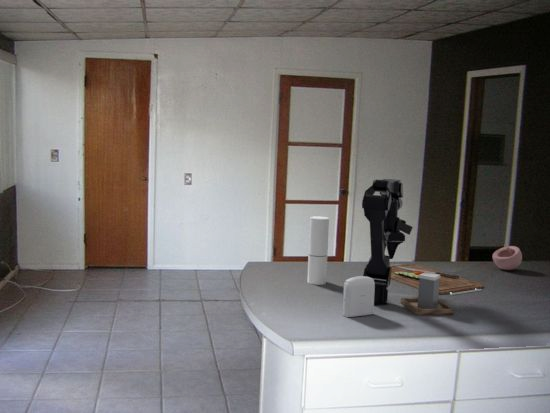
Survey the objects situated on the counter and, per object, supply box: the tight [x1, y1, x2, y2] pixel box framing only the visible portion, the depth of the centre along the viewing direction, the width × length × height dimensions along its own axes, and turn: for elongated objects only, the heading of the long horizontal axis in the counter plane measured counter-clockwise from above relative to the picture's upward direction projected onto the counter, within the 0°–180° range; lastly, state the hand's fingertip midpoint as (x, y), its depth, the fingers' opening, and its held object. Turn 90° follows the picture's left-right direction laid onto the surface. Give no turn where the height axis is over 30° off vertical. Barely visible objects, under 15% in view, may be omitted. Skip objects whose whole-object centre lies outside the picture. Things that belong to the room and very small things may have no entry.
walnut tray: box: [400, 297, 455, 316], centre depth 184 cm, size 13×13×2 cm
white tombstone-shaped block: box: [342, 275, 375, 318], centre depth 175 cm, size 10×4×12 cm, turn 114°
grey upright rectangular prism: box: [417, 272, 440, 309], centre depth 183 cm, size 5×5×11 cm
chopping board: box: [390, 263, 483, 296], centre depth 225 cm, size 45×27×3 cm, turn 30°
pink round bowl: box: [492, 244, 523, 271], centre depth 245 cm, size 12×12×11 cm
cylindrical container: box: [306, 215, 330, 286], centre depth 212 cm, size 7×7×25 cm
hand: (386, 256), depth 203 cm, fingers open, 9 cm apart
